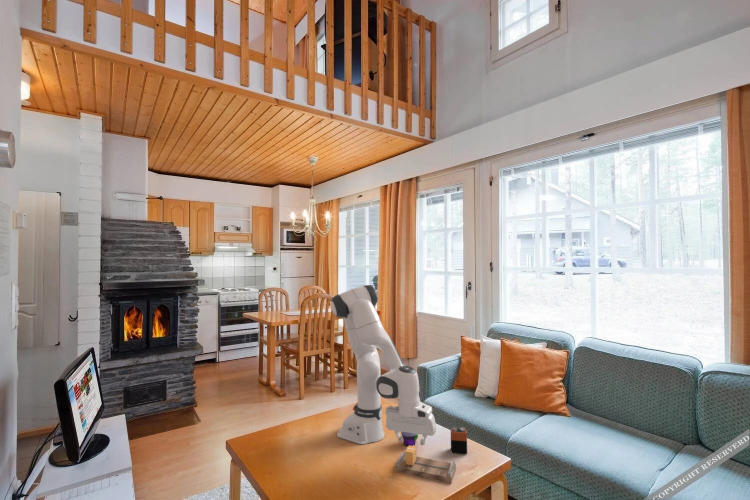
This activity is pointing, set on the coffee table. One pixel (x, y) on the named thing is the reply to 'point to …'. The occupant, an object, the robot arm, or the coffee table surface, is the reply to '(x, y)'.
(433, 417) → the robot arm
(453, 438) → the battery
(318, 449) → the coffee table surface
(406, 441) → the potion bottle
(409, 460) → the fader knob
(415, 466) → the fader board
